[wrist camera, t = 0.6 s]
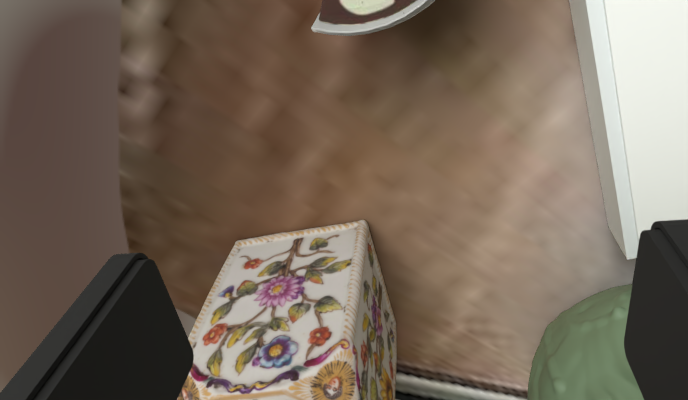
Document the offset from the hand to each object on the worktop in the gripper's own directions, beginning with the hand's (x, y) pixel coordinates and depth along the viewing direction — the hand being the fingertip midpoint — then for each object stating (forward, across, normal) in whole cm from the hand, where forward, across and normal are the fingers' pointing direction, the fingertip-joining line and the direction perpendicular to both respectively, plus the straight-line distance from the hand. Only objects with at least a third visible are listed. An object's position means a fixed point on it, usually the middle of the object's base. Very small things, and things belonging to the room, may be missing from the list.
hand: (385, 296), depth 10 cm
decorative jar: (+26, +10, +21) cm, 35 cm away
